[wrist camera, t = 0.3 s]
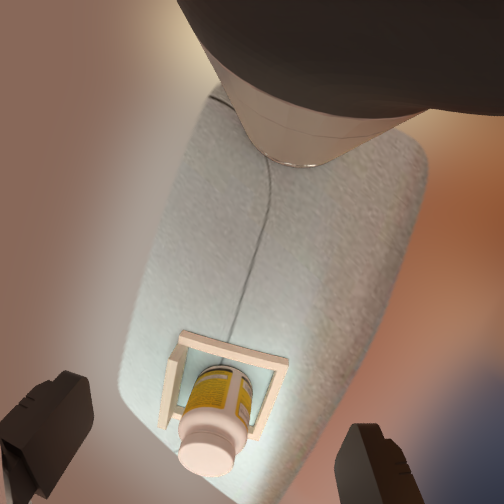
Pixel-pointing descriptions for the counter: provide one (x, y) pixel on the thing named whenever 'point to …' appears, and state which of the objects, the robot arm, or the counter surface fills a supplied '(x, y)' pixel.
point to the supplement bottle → (215, 421)
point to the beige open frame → (226, 351)
